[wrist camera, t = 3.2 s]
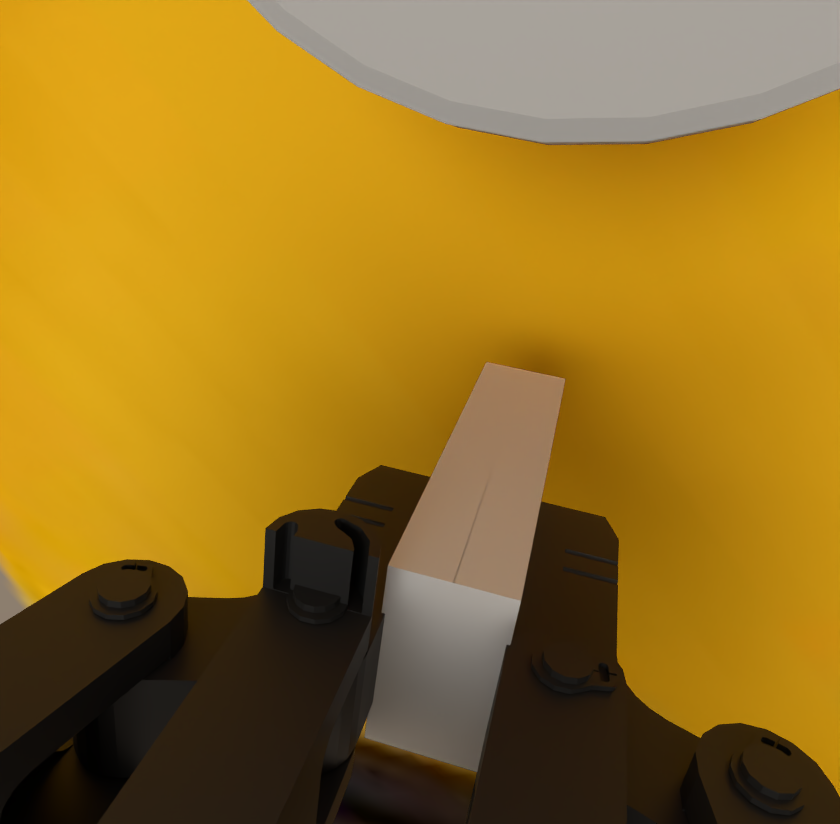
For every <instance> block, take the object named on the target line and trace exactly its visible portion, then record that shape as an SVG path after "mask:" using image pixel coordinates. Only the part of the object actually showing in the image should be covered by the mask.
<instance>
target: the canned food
mask: <svg viewBox="0 0 840 824" xmlns="http://www.w3.org/2000/svg"><path fill="white" fill-rule="evenodd" d="M248 1H249V2H250V3H251V4H252V6H253V7H254V8H255V9H256V10H257V11H258V12H259V13H260V14H261V15H262V16H263V17H264V18H265V19H266V20H267V21H268V22H269V23H270V24H271V25H272V26H273V27H274V28H275V29H276V30H277V31H278V32H279V33H281V34H282V35H284V36H285V37H287V38H288V39H289V40H291V41H292V42H294V43H295V44H297V45H298V46H300V47H301V48H302V49H304V50H305V51H307V52H308V53H310V54H311V55H313V56H314V57H316V58H317V59H318V60H320V61H321V62H323V63H324V64H326V65H327V66H329V67H330V68H331V69H333V70H334V71H336V72H337V73H339V74H340V75H342V76H343V77H344V78H346V79H347V80H349V81H350V82H352V83H353V84H355V85H356V86H357V87H360V88H362V89H365V90H367V91H369V92H372V93H374V94H376V95H379V96H381V97H384V98H386V99H388V100H391V101H393V102H395V103H398V104H400V105H403V106H405V107H407V108H410V109H412V110H414V111H417V112H419V113H422V114H424V115H426V116H429V117H431V118H433V119H436V120H438V121H441V122H443V123H445V124H450V125H453V126H456V127H459V128H464V129H469V130H474V131H479V132H484V133H490V134H495V135H500V136H505V137H510V138H515V139H521V140H526V141H531V142H536V143H541V144H546V145H583V144H648V143H653V142H658V141H663V140H668V139H673V138H678V137H683V136H688V135H693V134H698V133H703V132H708V131H713V130H718V129H723V128H728V127H733V126H738V125H744V124H749V123H753V122H755V121H758V120H760V119H763V118H766V117H768V116H771V115H773V114H776V113H778V112H781V111H784V110H786V109H789V108H791V107H794V106H797V105H799V104H802V103H804V102H807V101H810V100H812V99H815V98H817V97H820V96H822V95H825V94H828V93H830V92H833V91H835V90H838V89H840V0H248Z"/></svg>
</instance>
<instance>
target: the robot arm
mask: <svg viewBox="0 0 840 824" xmlns="http://www.w3.org/2000/svg"><path fill="white" fill-rule="evenodd" d="M564 384H565V379H564V378H560V377H555V376H550V375H546V374H541V373H536V372H532V371H527V370H522V369H518V368H513V367H508V366H504V365H499V364H494V363H489V362H486V364H485V366H484V368H483V370H482V372H481V374H480V376H479V378H478V380H477V382H476V384H475V386H474V389H473V391H472V393H471V395H470V397H469V399H468V401H467V403H466V405H465V407H464V409H463V411H462V413H461V415H460V417H459V420H458V422H457V424H456V426H455V428H454V430H453V432H452V434H451V436H450V438H449V440H448V442H447V444H446V446H445V448H444V451H443V453H442V455H441V457H440V459H439V461H438V463H437V465H436V467H435V469H434V471H433V473H432V475H431V477H428V476H423V475H419V474H415V473H411V472H407V471H403V470H399V469H395V468H391V467H386V466H382V465H380V466H379V467H377V468H375V469H373V470H371V471H370V472H368V473H366V474H364V475H362V476H361V477H359V478H358V479H357V480H356V482H355V483H354V485H353V486H352V488H351V489H350V491H349V492H348V494H347V495H346V499H345V500H343V502H342V503H341V505H340V506H339V508H338V509H337V511H334V510H326V509H311V510H299V511H296V512H293V513H290V514H287V515H284V516H282V517H279V518H278V519H277V520H275V521H274V522H273V523H272V524H270V525H269V526H268V527H267V528H266V532H265V554H264V577H263V588H262V589H261V591H260V592H259V593H258V595H254V596H250V597H245V598H198V597H188V590H187V588H186V585H185V582H184V580H183V577H182V576H181V575H179V574H178V573H177V572H176V571H174V570H173V569H172V568H171V567H169V566H166V565H163V564H160V563H157V562H154V561H150V560H128V559H127V560H122V561H117V562H111V563H106V564H103V565H100V566H98V567H96V568H94V569H91V570H89V571H87V572H85V573H83V574H81V575H79V576H78V577H76V578H74V579H73V580H71V581H70V582H68V583H66V584H65V585H63V586H62V587H60V588H58V589H57V590H55V591H53V592H52V593H50V594H49V595H47V596H45V597H44V598H42V599H41V600H39V601H37V602H36V603H34V604H33V605H31V606H29V607H28V608H26V609H24V610H23V611H21V612H20V613H18V614H16V615H15V616H13V617H12V618H10V619H8V620H7V621H5V622H4V623H2V624H0V824H333V821H334V819H335V816H336V814H337V811H338V808H339V806H340V803H341V801H342V798H343V796H344V793H345V790H346V788H347V785H348V783H349V780H350V778H351V774H352V768H353V761H354V754H355V746H356V743H357V740H358V738H359V736H360V733H361V731H362V728H363V726H364V723H365V721H366V718H367V723H366V730H365V738H367V739H371V740H374V741H377V742H380V743H384V744H387V745H390V746H393V747H397V748H400V749H403V750H406V751H410V752H413V753H416V754H419V755H423V756H426V757H429V758H432V759H436V760H439V761H442V762H445V763H449V764H452V765H455V766H458V767H462V768H465V769H468V770H472V771H475V772H477V775H476V780H475V784H474V788H473V793H472V797H471V801H470V805H469V810H468V814H467V818H466V822H465V824H840V797H839V795H838V793H837V791H836V789H835V788H834V786H833V785H832V783H831V782H830V781H829V779H828V778H827V776H826V775H825V774H824V772H823V771H822V770H821V768H820V767H819V766H818V764H817V763H816V762H815V761H813V760H812V759H811V758H810V757H809V756H807V755H806V754H805V753H804V752H803V751H802V750H800V749H799V748H798V747H797V746H796V745H794V744H793V743H791V742H789V741H788V740H786V739H784V738H782V737H780V736H778V735H776V734H774V733H772V732H770V731H768V730H766V729H762V728H758V727H754V726H750V725H746V724H742V723H735V724H721V725H717V726H715V727H714V728H712V729H710V730H709V731H707V732H705V733H704V734H703V735H702V737H701V738H699V737H697V736H695V735H693V734H691V733H690V732H688V731H686V730H684V729H682V728H680V727H679V726H677V725H675V724H673V723H671V722H670V721H668V720H666V719H665V718H663V717H662V716H660V715H659V714H657V713H655V712H654V711H652V710H651V709H650V708H648V707H647V706H646V705H645V704H644V703H643V702H642V701H641V700H640V699H639V698H637V697H636V696H635V694H634V693H633V692H632V691H631V689H630V688H629V687H628V685H627V684H626V680H625V677H624V673H623V669H622V668H621V667H620V665H619V664H618V662H617V655H616V653H617V601H618V585H617V582H618V566H617V565H618V548H619V539H618V538H617V536H616V534H615V533H614V531H613V529H612V528H611V526H610V524H609V523H608V521H607V519H606V518H605V517H602V516H598V515H594V514H590V513H586V512H582V511H578V510H573V509H569V508H565V507H561V506H557V505H553V504H549V503H545V502H541V499H542V494H543V489H544V484H545V479H546V474H547V469H548V464H549V459H550V454H551V449H552V444H553V439H554V434H555V429H556V424H557V419H558V414H559V409H560V404H561V399H562V394H563V389H564Z"/></svg>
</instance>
